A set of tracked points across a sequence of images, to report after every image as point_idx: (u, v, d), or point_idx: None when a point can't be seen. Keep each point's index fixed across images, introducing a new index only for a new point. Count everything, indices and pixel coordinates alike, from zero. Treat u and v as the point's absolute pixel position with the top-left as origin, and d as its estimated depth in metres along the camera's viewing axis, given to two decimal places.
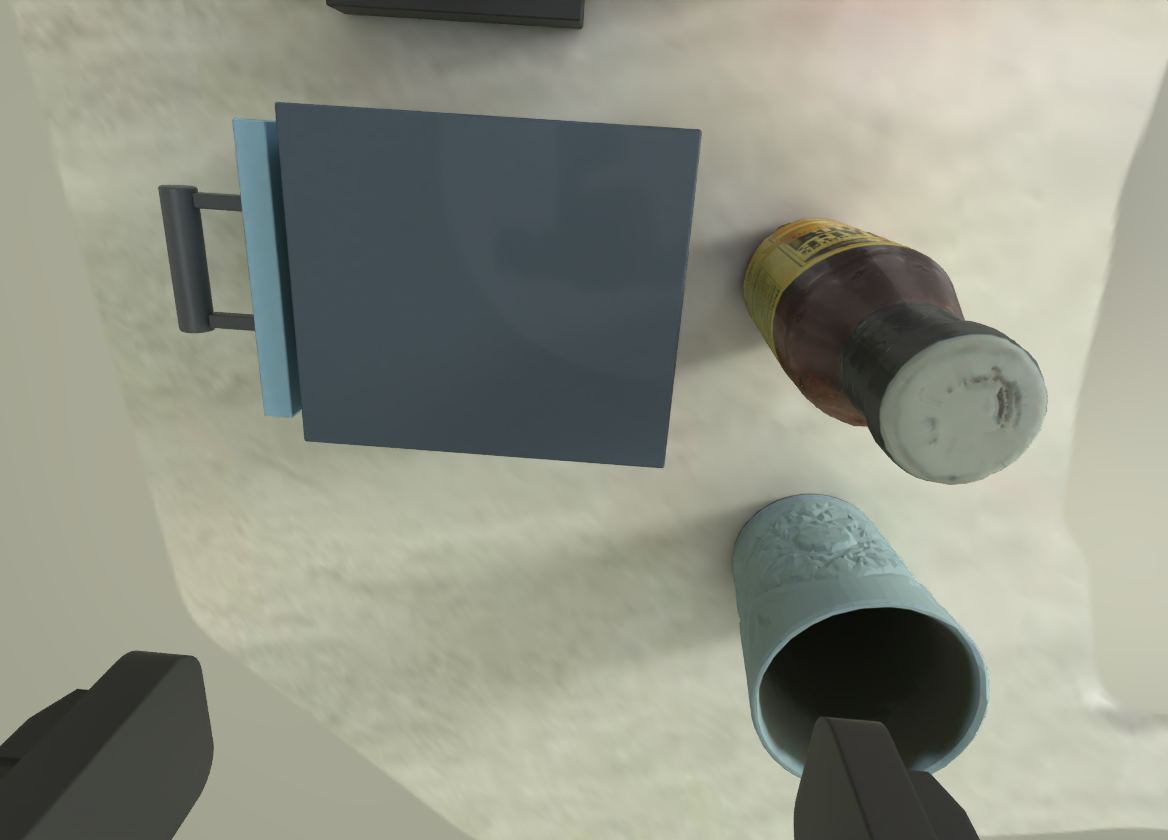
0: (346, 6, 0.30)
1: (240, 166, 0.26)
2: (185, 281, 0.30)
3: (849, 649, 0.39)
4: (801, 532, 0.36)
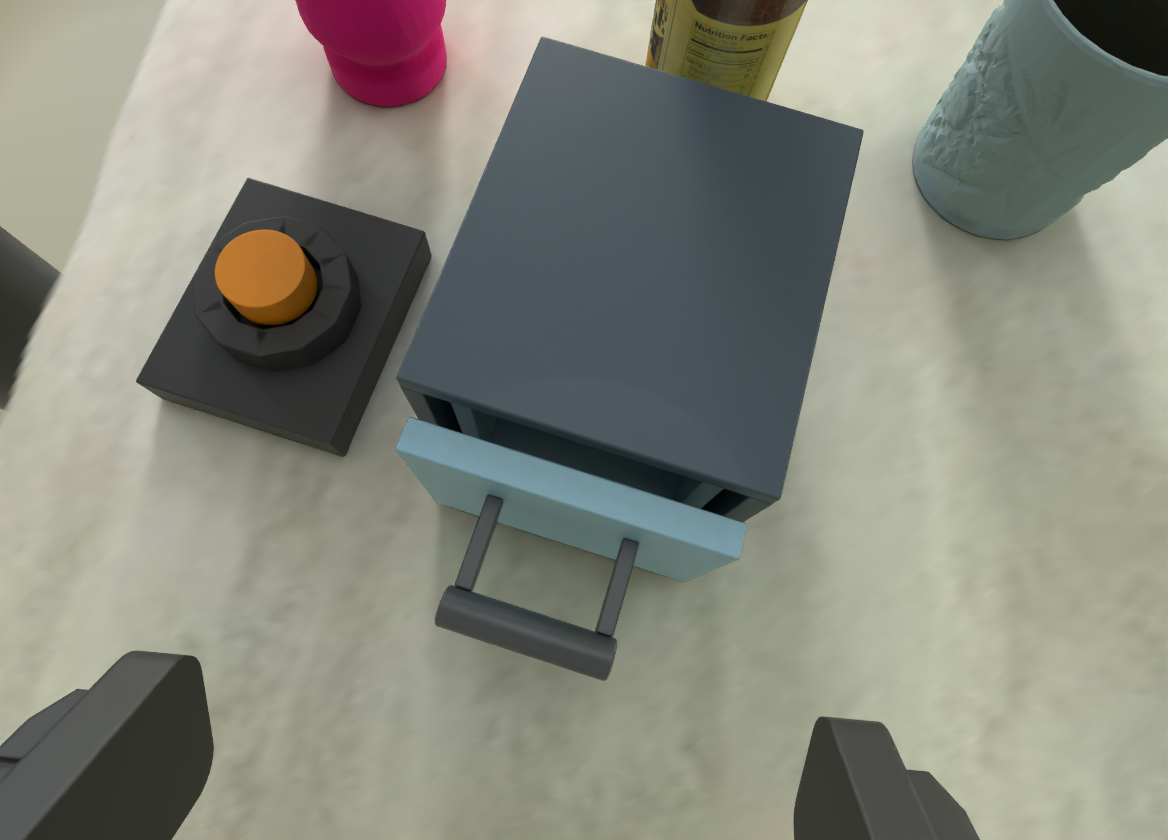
0: (339, 426, 0.30)
1: (444, 460, 0.22)
2: (549, 634, 0.23)
3: None
4: (954, 121, 0.34)
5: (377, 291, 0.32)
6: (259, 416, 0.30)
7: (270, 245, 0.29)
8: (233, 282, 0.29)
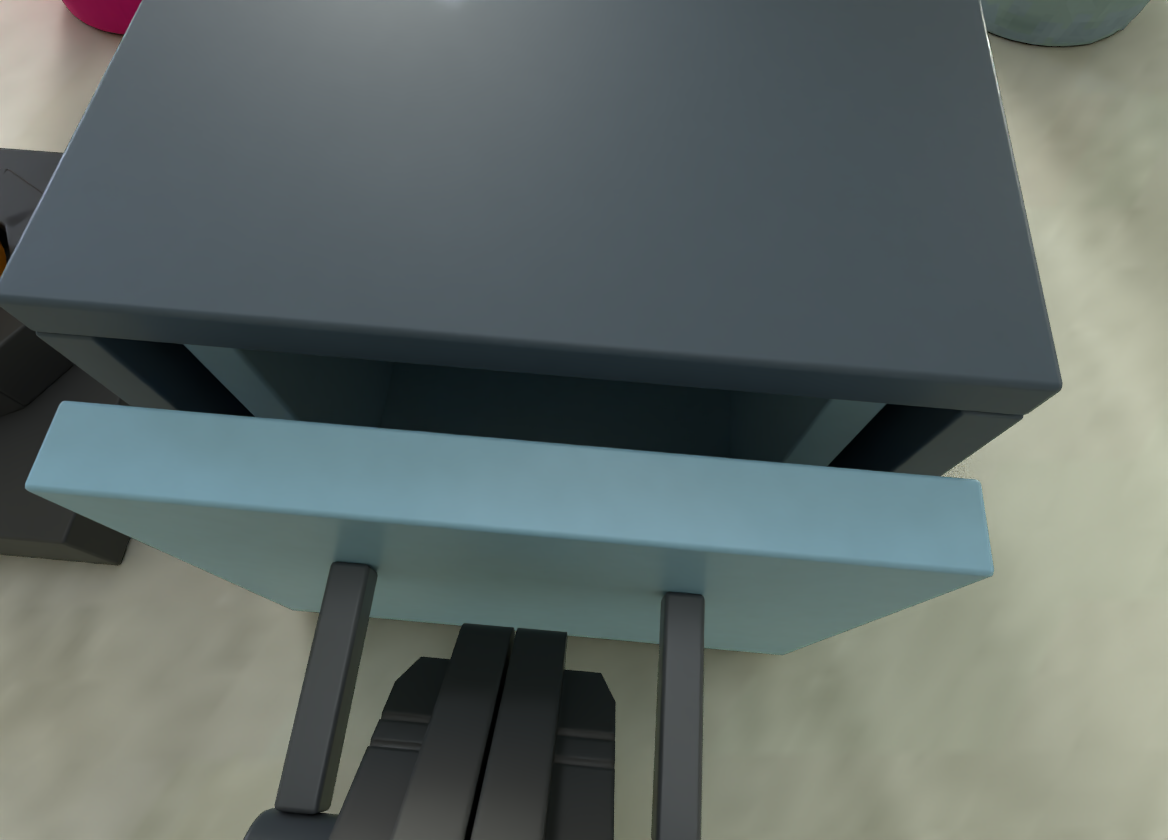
0: None
1: (159, 487, 0.08)
2: None
3: None
4: None
5: None
6: None
7: None
8: None
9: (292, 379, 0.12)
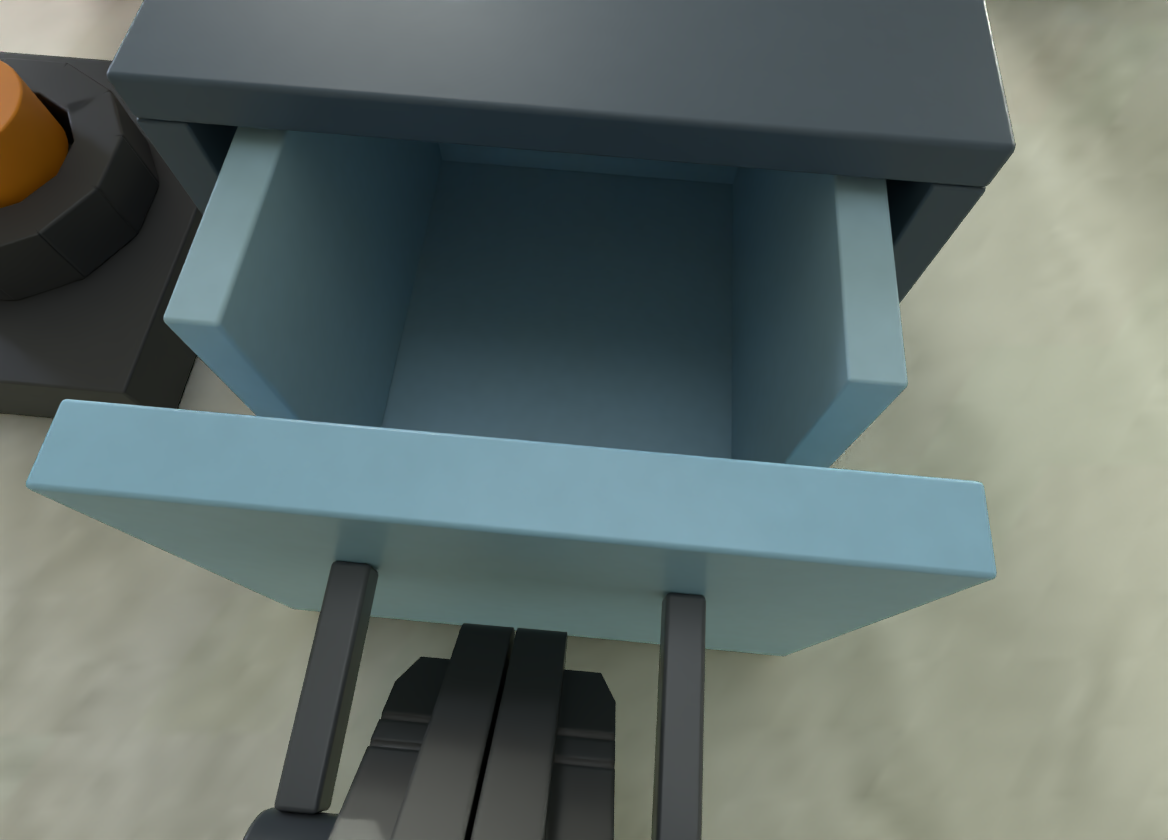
0: (138, 364, 0.18)
1: (161, 487, 0.08)
2: None
3: None
4: None
5: None
6: None
7: None
8: None
9: (294, 378, 0.12)
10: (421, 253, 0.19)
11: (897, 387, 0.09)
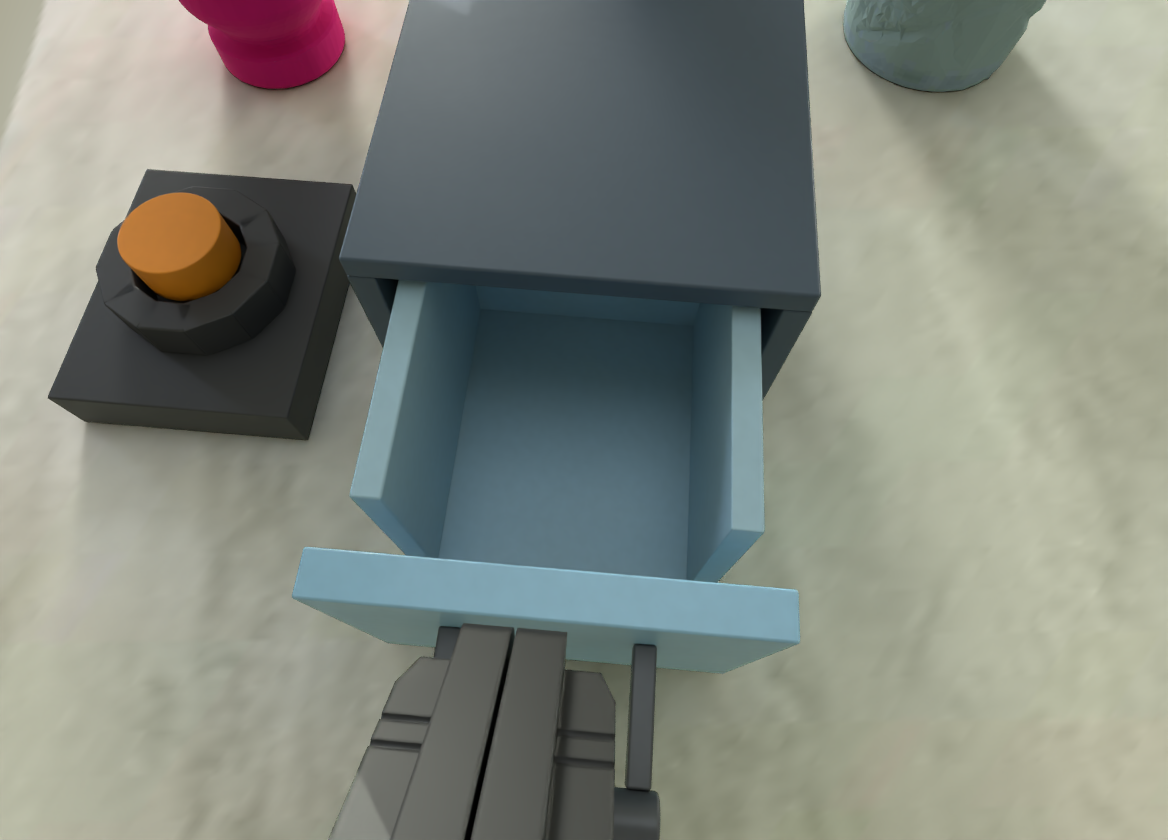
0: (294, 398, 0.26)
1: (362, 597, 0.16)
2: None
3: None
4: None
5: (311, 252, 0.29)
6: (199, 405, 0.26)
7: (177, 207, 0.26)
8: (140, 251, 0.25)
9: (407, 509, 0.19)
10: (468, 383, 0.27)
11: (758, 533, 0.17)
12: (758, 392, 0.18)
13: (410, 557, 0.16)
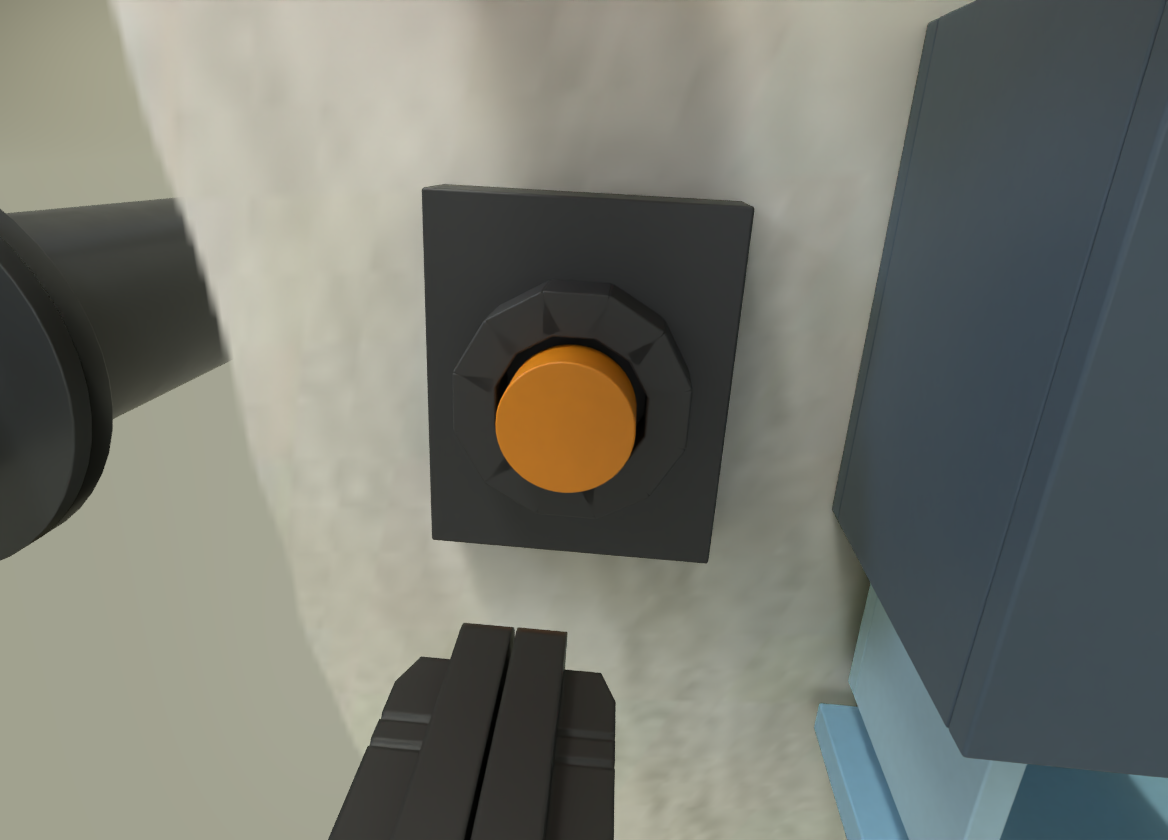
0: (710, 539, 0.22)
1: None
2: None
3: None
4: None
5: (705, 339, 0.20)
6: (605, 549, 0.23)
7: (565, 389, 0.18)
8: (536, 462, 0.18)
9: None
10: None
11: None
12: None
13: None
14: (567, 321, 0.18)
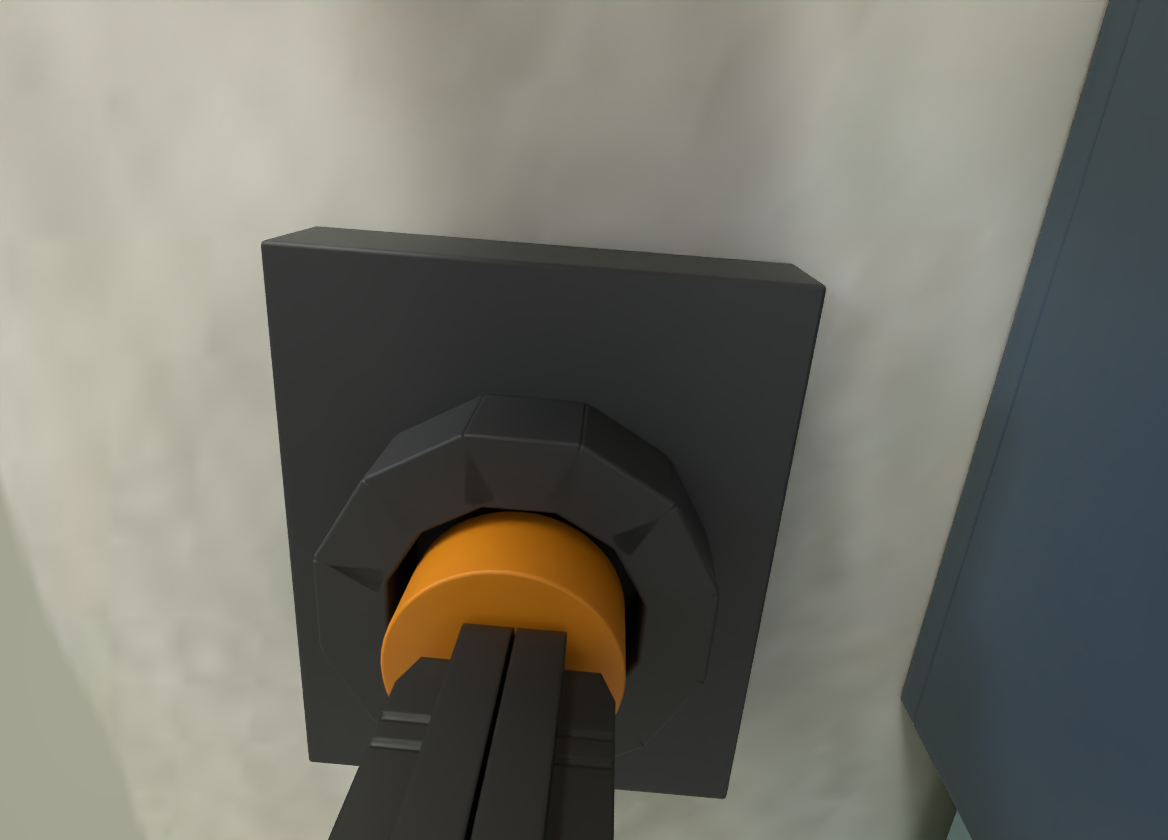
0: (731, 766, 0.15)
1: None
2: None
3: None
4: None
5: (735, 490, 0.12)
6: None
7: (502, 615, 0.10)
8: None
9: None
10: None
11: None
12: None
13: None
14: (507, 484, 0.11)
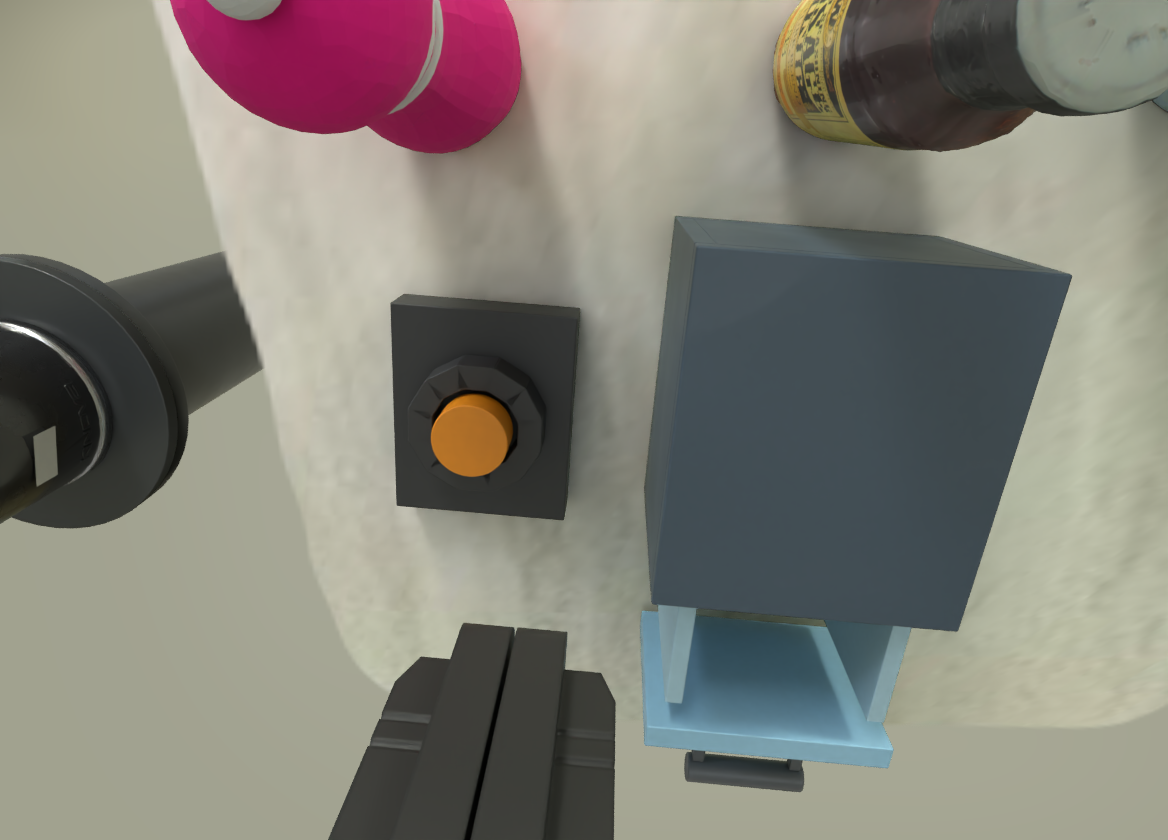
0: (564, 505, 0.37)
1: (678, 746, 0.33)
2: (760, 781, 0.36)
3: None
4: None
5: (554, 389, 0.35)
6: (501, 511, 0.38)
7: (468, 420, 0.32)
8: (454, 459, 0.33)
9: None
10: None
11: (880, 722, 0.32)
12: (901, 657, 0.31)
13: (700, 732, 0.33)
14: (471, 381, 0.33)
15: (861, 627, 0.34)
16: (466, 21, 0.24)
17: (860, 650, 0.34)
